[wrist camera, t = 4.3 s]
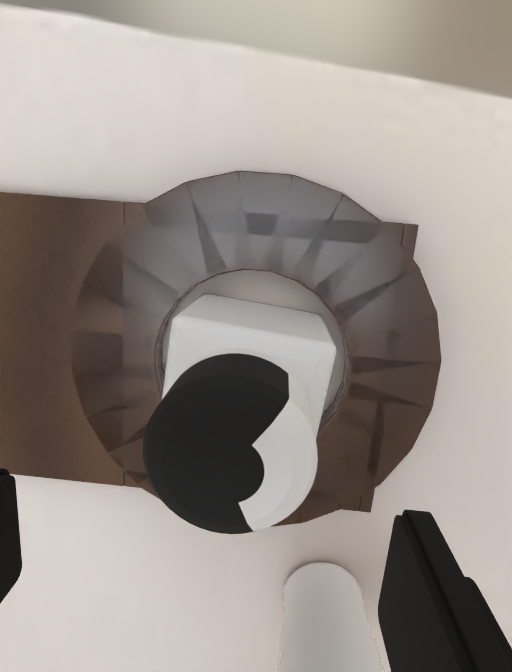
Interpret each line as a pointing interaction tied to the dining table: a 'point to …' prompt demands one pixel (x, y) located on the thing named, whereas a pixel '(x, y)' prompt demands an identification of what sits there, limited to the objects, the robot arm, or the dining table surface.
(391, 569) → the robot arm
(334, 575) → the drinking glass
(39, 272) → the holder board
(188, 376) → the medicine bottle
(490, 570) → the dining table surface
